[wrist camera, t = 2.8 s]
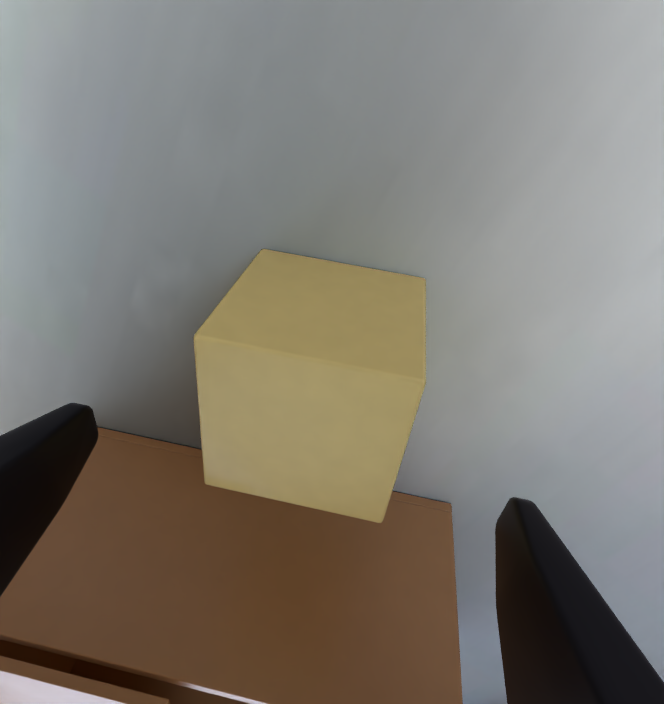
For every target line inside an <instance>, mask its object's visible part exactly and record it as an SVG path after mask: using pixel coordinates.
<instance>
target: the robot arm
mask: <svg viewBox="0 0 664 704" xmlns="http://www.w3.org/2000/svg"><path fill="white" fill-rule="evenodd" d="M97 440H98V428H97V425H96V421H95V417H94V413H93V410H92V408H91V407H90V406H87V405H82V404H78V403H69V404H66V405H64V406H62V407H60V408H58V409H56V410H54V411H52V412H50V413H47V414H45V415H43V416H41V417H39V418H37V419H35V420H33V421H31V422H28V423H26V424H24V425H22V426H20V427H18V428H16V429H14V430H11V431H9V432H7V433H5V434H3V435H1V436H0V597H1V595H2V594H3V592H4V591H5V589H6V588H7V586H8V585H9V583H10V582H11V581H12V579H13V578H14V576H15V575H16V573H17V572H18V570H19V569H20V567H21V566H22V564H23V563H24V561H25V560H26V558H27V557H28V556H29V554H30V553H31V551H32V550H33V548H34V547H35V545H36V544H37V542H38V541H39V539H40V538H41V536H42V535H43V534H44V532H45V531H46V529H47V528H48V526H49V525H50V523H51V522H52V520H53V519H54V517H55V516H56V514H57V513H58V511H59V510H60V508H61V507H62V505H63V503H64V502H65V500H66V498H67V497H68V495H69V493H70V491H71V489H72V487H73V486H74V484H75V482H76V480H77V478H78V476H79V474H80V473H81V471H82V469H83V467H84V465H85V463H86V461H87V460H88V458H89V456H90V454H91V452H92V450H93V449H94V447H95V445H96V443H97ZM495 539H496V608H497V619H498V627H499V636H500V644H501V653H502V661H503V670H504V678H505V686H506V695H507V703H508V704H664V682H663V681H662V679H661V678H660V677H659V675H658V674H657V672H656V671H655V670H654V668H653V667H652V665H651V664H650V663H649V661H648V660H647V659H646V657H645V656H644V654H643V653H642V652H641V650H640V649H639V647H638V646H637V645H636V643H635V642H634V641H633V639H632V638H631V636H630V635H629V634H628V632H627V631H626V629H625V628H624V627H623V625H622V624H621V622H620V621H619V620H618V618H617V617H616V616H615V614H614V613H613V611H612V610H611V609H610V607H609V606H608V604H607V603H606V602H605V600H604V599H603V598H602V596H601V595H600V593H599V592H598V591H597V589H596V588H595V586H594V585H593V584H592V582H591V581H590V580H589V578H588V577H587V575H586V574H585V573H584V571H583V570H582V568H581V567H580V566H579V564H578V563H577V562H576V560H575V559H574V557H573V556H572V555H571V553H570V552H569V550H568V549H567V548H566V546H565V545H564V544H563V542H562V541H561V539H560V538H559V537H558V535H557V534H556V532H555V531H554V530H553V528H552V527H551V526H550V524H549V523H548V521H547V520H546V519H545V517H544V516H543V514H542V513H541V512H540V510H539V509H538V508H537V506H536V505H535V504H534V503H533V502H532V501H529V500H525V499H521V498H516V497H512V498H511V499H509V501H508V502H507V504H506V506H505V508H504V510H503V511H502V513H501V515H500V517H499V518H498V521H497V524H496V531H495Z"/></svg>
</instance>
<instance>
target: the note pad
mask: <svg viewBox="0 0 664 704" xmlns="http://www.w3.org/2000/svg"><path fill="white" fill-rule="evenodd" d="M194 351H195V364H196V377H197V390H198V404H199V417H200V430H201V443H202V456H203V469H204V483H205V484H207V485H211V486H215V487H220V488H224V489H229V490H233V491H238V492H242V493H247V494H251V495H256V496H260V497H265V498H269V499H274V500H278V501H283V502H287V503H292V504H296V505H301V506H305V507H310V508H314V509H319V510H323V511H328V512H332V513H337V514H341V515H346V516H350V517H354V518H359V519H363V520H368V521H372V522H377V523H381V522H382V521H383V519H384V516H385V513H386V510H387V507H388V503H389V500H390V497H391V494H392V491H393V487H394V484H395V481H396V478H397V474H398V471H399V468H400V465H401V462H402V458H403V455H404V452H405V449H406V446H407V442H408V439H409V436H410V433H411V429H412V426H413V423H414V420H415V417H416V413H417V410H418V407H419V404H420V401H421V397H422V394H423V391H424V388H425V384H426V280H425V279H424V278H421V277H415V276H410V275H404V274H399V273H393V272H388V271H382V270H377V269H371V268H366V267H360V266H355V265H349V264H344V263H339V262H333V261H328V260H322V259H317V258H311V257H306V256H300V255H295V254H289V253H284V252H278V251H273V250H267V249H261V251H260V252H259V253H258V255H257V256H256V257H255V258H254V260H253V261H252V262H251V263H250V265H249V266H248V267H247V269H246V270H245V271H244V272H243V274H242V275H241V276H240V277H239V279H238V280H237V281H236V282H235V284H234V285H233V286H232V288H231V289H230V290H229V291H228V293H227V294H226V295H225V296H224V298H223V299H222V300H221V302H220V303H219V304H218V305H217V307H216V308H215V309H214V310H213V312H212V313H211V314H210V315H209V317H208V318H207V319H206V321H205V322H204V323H203V324H202V326H201V327H200V328H199V329H198V331H197V332H196V333H195V335H194Z"/></svg>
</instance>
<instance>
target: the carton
mask: <svg viewBox="0 0 664 704" xmlns="http://www.w3.org/2000/svg"><path fill="white" fill-rule="evenodd" d="M97 428H98V440H97V443H96V445H95V447H94V449H93V450H92V452H91V454H90V456H89V458H88V460H87V461H86V463H85V465H84V467H83V469H82V471H81V473H80V474H79V476H78V478H77V480H76V482H75V484H74V486H73V487H72V489H71V491H70V493H69V495H68V497H67V498H66V500H65V502H64V503H63V505H62V507H61V508H60V510H59V511H58V513H57V514H56V516H55V517H54V519H53V520H52V522H51V523H50V525H49V526H48V528H47V529H46V531H45V532H44V534H43V535H42V536H41V538H40V539H39V541H38V542H37V544H36V545H35V547H34V548H33V550H32V551H31V553H30V554H29V556H28V557H27V558H26V560H25V561H24V563H23V564H22V566H21V567H20V569H19V570H18V572H17V573H16V575H15V576H14V578H13V579H12V581H11V582H10V583H9V585H8V586H7V588H6V589H5V591H4V592H3V594H2V595H1V597H0V704H463V702H462V685H461V667H460V649H459V631H458V613H457V595H456V577H455V559H454V542H453V524H452V506H451V504H450V503H445V502H440V501H436V500H431V499H427V498H422V497H417V496H413V495H408V494H404V493H399V492H394V491H392V494H391V497H390V500H389V503H388V507H387V510H386V513H385V516H384V519H383V521H382V522H381V523H377V522H372V521H368V520H363V519H359V518H354V517H350V516H346V515H341V514H337V513H332V512H328V511H323V510H319V509H314V508H310V507H305V506H301V505H296V504H292V503H287V502H283V501H278V500H274V499H269V498H265V497H260V496H256V495H251V494H247V493H242V492H238V491H233V490H229V489H224V488H220V487H215V486H211V485H207V484H205V483H204V469H203V456H202V450H201V449H196V448H192V447H187V446H182V445H178V444H173V443H168V442H164V441H159V440H155V439H150V438H145V437H141V436H136V435H132V434H127V433H122V432H118V431H113V430H109V429H104V428H99V427H97Z"/></svg>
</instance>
